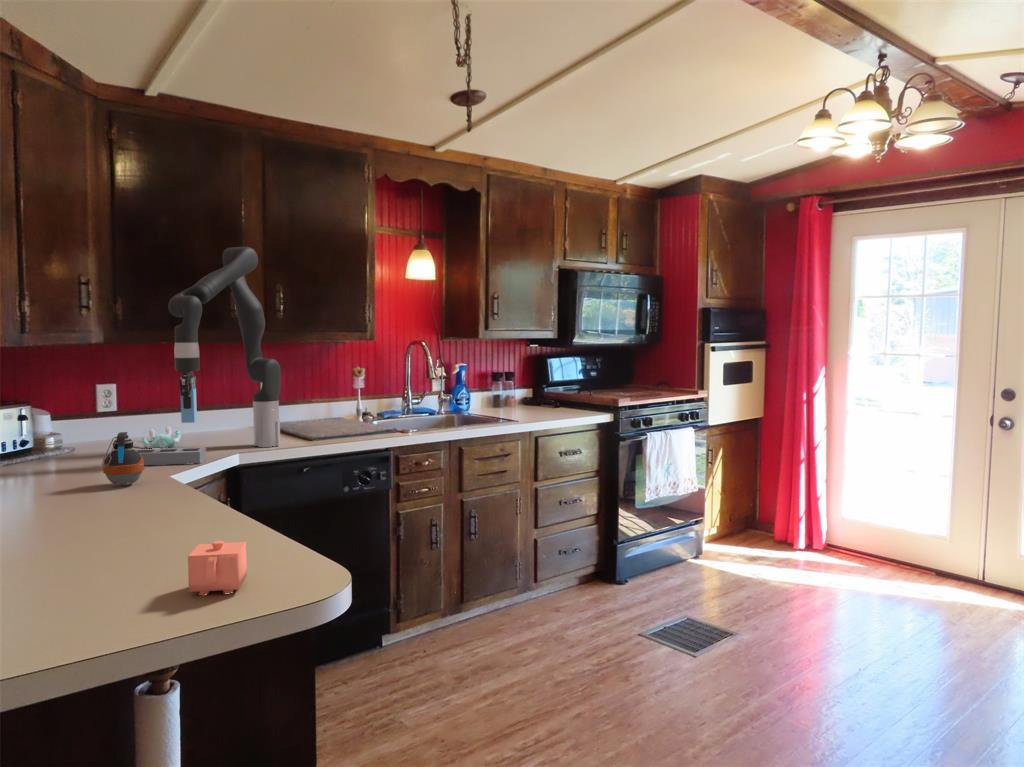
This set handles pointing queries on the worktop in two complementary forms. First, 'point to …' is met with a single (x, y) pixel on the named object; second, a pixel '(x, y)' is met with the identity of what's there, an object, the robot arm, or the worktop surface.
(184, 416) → the plug
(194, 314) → the robot arm
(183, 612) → the worktop surface
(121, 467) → the grenade
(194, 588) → the pink cube teapot
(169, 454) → the panel
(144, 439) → the figurine
